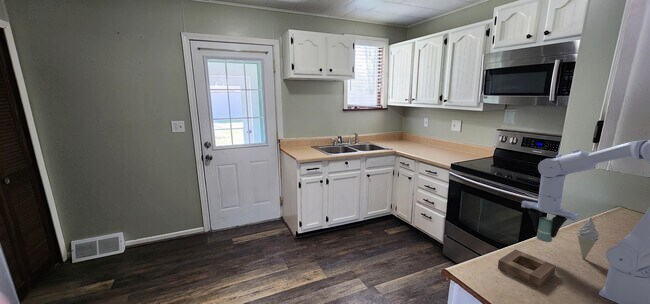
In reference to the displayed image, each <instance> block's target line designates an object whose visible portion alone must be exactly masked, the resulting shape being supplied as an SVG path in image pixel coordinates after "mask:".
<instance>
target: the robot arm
mask: <svg viewBox="0 0 650 304" xmlns="http://www.w3.org/2000/svg"><path fill="white" fill-rule="evenodd" d="M626 158H633V159H636V160H642V159H643V160H645V161H646V162H647V163H648V164H650V139H643V140H635V141H629V142H626V143H625V142H624V143H622V144H618V145H615V146H610V147H607V148H604V149H600V150H598V151H594V152H592V151H589V150H586V149H585V150H584V149H583V150H581V149H580V148H579V149H574V150H572V153H567V154H564V155H562V154H558V155H556V156H555V157H554V158H545V159H543V160H540V162H539V163H538V164H537V170H538V173H539V174H540V184H539V191H538V199H537V200H538V201H537V202H534V201H528V200H523V201H521V208H524V209H525V208H526V209H529V210H528V215H529V216H530V219H531V222H532V226H533V230H534V231H533V232H534V233H535V232H536V233H537V231H538V224H539V218H540V217H543V216H542V214H543V213H545V214H549V215H552V216H554V217H552V218H551V219H552V221H553V227H552V233H551V237H552V239H553V238H556V237H557V235H558V232H559V231H560V229H561V228H562V225H564V223H565V222H566V221H567V220H570V221H571V222H577V221H579V215H580V214H579V213H576V212H572V211H569V210H566V209H564V208H561V205H562V200H563V199H562V198H563V193H564V184H565V180H566V176H567V175H571V174H575V173H580V172H585V171H591V170H594V169H595V168H596V166H597V164H601V163H604V162H609V161H616V160H620V159H626ZM605 258H606V260H607V262H608V263H609V266H608V268H607V269H608V270H607V275H606V281H605V285H604V286H603V288H602V289H601V290H600V291H599V292H598V295H599V296H600V297H602V298H605V299H607V300H609V301H611V302H614V303H616V304H650V206H649V207H648V208H647V210H646V212H645V213H644V214H643V216H642V217H641V218H640V219H639V220H638V222H637V224H636V225H635V227H634V228H633V229H632V231H631V232H630V233H629V234H628V235H626V236H625V237H623V238H622V239H621V240H620V241H619V242H618V243H617V244H616V245H614V246H611V247H608V249H606V252H605Z"/></svg>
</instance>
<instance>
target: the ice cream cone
mask: <svg viewBox="0 0 650 304" xmlns="http://www.w3.org/2000/svg"><path fill="white" fill-rule="evenodd" d="M576 235H577V239H578V244H579V249H580V252H581V253H580V254H581V259H582V260H585V259H586V258H587V256H588V255H589V253H590V252H591V250H592V248H593V247H594V245H595V244H596V242H597V241H598V240H599V236H600V233H599V231H598V230H597V229H596V224H595V223H594V221H593V219H592V217H590V218H588V219H587V221H586V222H584V224H583V225H582V226H580V227H579V229H578V233H576Z"/></svg>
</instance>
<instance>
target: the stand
mask: <svg viewBox="0 0 650 304" xmlns="http://www.w3.org/2000/svg"><path fill="white" fill-rule="evenodd" d="M556 267H557V266H556V265H555V264H553V263H550V262H548V261H546V260H544V259H540V258H538V257H536V256H534V255H531V254H528V253H526V252H523V251H521V250H518V249H516V248H514V250H512V251H511V252H509V253H507V254H505V255H504V256H503V257H501V258H500V259H498V264H497V269H498V270H499V271H503V272H504V273H507V274H508V275H511V276H513V277H514V278H517V279H519V280H521V281H524V282H526V283H527V284H530V285H532V286H534V287H536V288H538V289H539V288H540V287H542V286H543V285H544V284H545V283H547V281H549V280H550V279H551V278H552V277H553V276H555V274H556Z"/></svg>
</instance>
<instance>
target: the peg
mask: <svg viewBox="0 0 650 304" xmlns="http://www.w3.org/2000/svg"><path fill="white" fill-rule="evenodd" d="M552 227H553V221H552V218H551V217H547V216H541V217H540V218H539V224H538V231H537V232H536V239H537V240H539V241H541V242H543V243H544V242H545V243H551V242H553V237H551V233H552Z"/></svg>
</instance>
